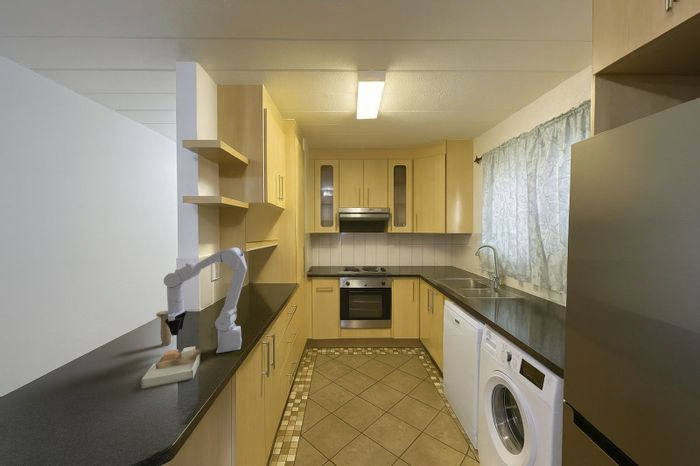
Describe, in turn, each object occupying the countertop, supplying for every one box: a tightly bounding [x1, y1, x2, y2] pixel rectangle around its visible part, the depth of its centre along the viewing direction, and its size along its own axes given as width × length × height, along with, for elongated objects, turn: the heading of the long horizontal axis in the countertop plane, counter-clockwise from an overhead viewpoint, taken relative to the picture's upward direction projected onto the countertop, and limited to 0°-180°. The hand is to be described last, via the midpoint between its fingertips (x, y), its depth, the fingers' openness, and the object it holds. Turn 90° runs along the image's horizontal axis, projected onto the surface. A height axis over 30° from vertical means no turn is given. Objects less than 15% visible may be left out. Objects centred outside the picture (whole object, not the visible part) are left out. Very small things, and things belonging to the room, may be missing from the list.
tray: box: [140, 355, 201, 390], centre depth 94 cm, size 15×12×3 cm
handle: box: [155, 310, 172, 347], centre depth 119 cm, size 5×6×15 cm
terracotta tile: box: [162, 349, 179, 361], centre depth 102 cm, size 4×4×2 cm
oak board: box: [156, 348, 202, 369], centre depth 103 cm, size 13×7×2 cm, turn 110°
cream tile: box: [180, 346, 196, 357], centre depth 104 cm, size 4×4×2 cm
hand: (177, 332), depth 111 cm, fingers open, 6 cm apart
